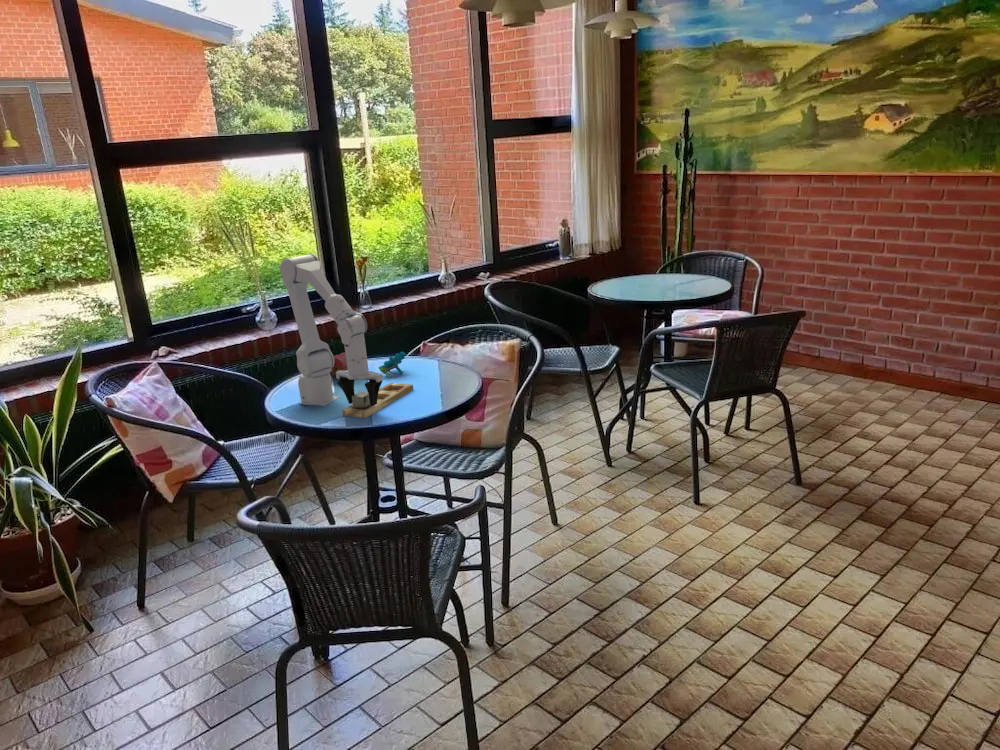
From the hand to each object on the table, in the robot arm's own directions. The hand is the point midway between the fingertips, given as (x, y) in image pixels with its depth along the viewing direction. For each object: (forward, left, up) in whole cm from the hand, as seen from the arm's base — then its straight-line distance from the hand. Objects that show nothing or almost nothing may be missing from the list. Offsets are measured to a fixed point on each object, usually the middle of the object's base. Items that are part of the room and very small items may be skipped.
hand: (362, 403), depth 211 cm
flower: (-30, +28, -3) cm, 41 cm away
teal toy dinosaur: (-13, +35, -3) cm, 37 cm away
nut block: (0, 0, -2) cm, 2 cm away
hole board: (0, +8, -3) cm, 8 cm away
